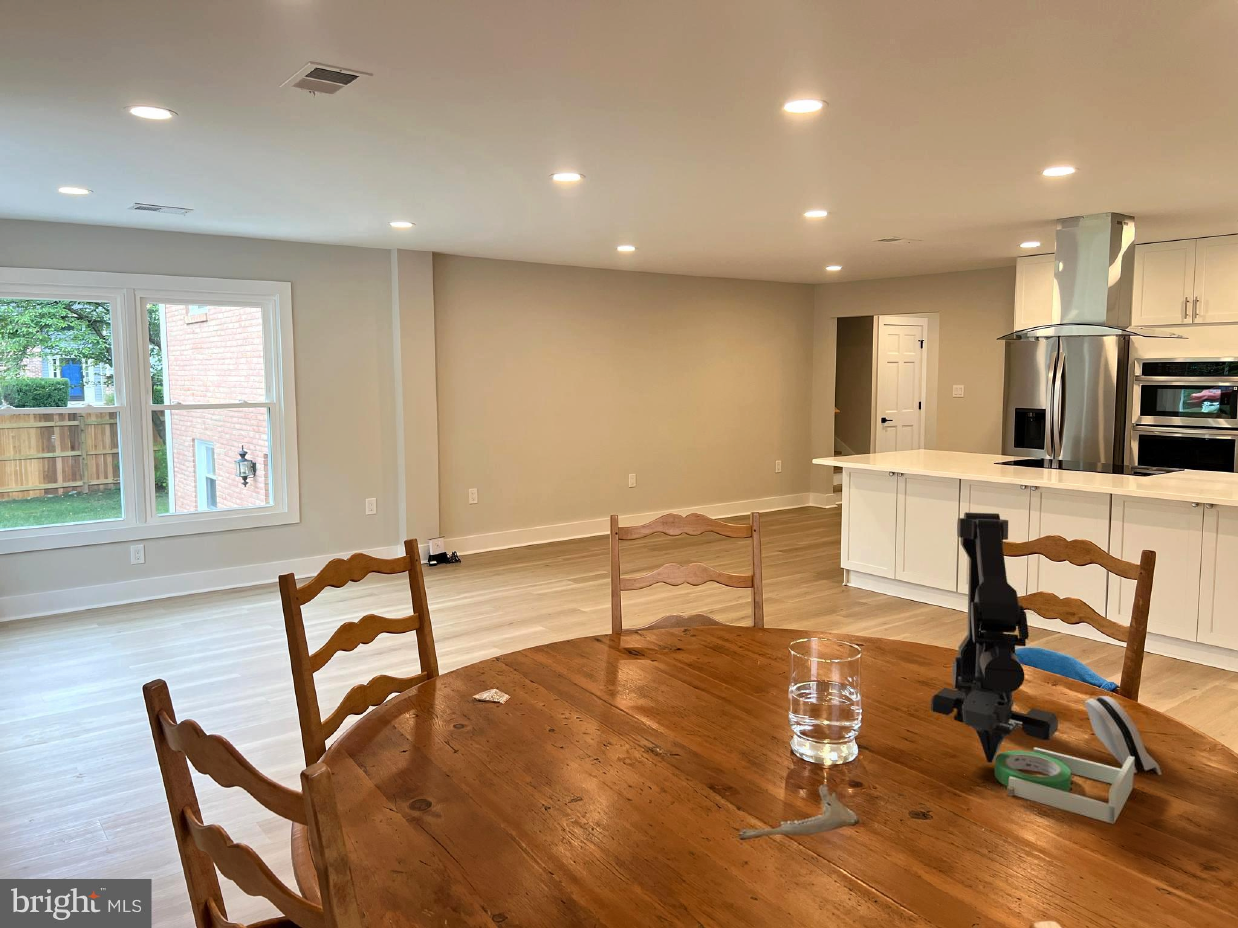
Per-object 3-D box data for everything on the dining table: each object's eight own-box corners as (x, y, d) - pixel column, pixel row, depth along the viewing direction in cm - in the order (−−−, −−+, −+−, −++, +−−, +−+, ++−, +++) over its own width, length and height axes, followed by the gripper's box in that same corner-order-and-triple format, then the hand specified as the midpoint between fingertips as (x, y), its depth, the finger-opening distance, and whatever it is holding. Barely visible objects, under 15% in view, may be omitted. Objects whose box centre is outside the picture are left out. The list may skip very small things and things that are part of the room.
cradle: (1006, 795, 133) (1007, 764, 133) (1035, 759, 145) (1036, 731, 145) (1112, 826, 124) (1114, 793, 123) (1133, 785, 136) (1135, 755, 135)
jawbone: (872, 819, 128) (873, 807, 128) (785, 872, 115) (786, 858, 115) (823, 793, 135) (824, 781, 135) (735, 840, 122) (736, 827, 121)
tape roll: (1066, 771, 141) (1067, 756, 141) (1073, 802, 131) (1074, 785, 131) (993, 760, 145) (994, 745, 145) (995, 789, 135) (995, 773, 135)
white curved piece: (1162, 775, 139) (1143, 718, 139) (1132, 782, 140) (1112, 726, 140) (1123, 733, 155) (1105, 682, 155) (1096, 740, 156) (1078, 689, 156)
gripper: (919, 671, 141) (916, 761, 142) (1041, 698, 128) (1036, 797, 130) (944, 654, 149) (941, 740, 151) (1061, 679, 137) (1056, 772, 138)
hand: (990, 761), depth 142 cm, fingers closed
